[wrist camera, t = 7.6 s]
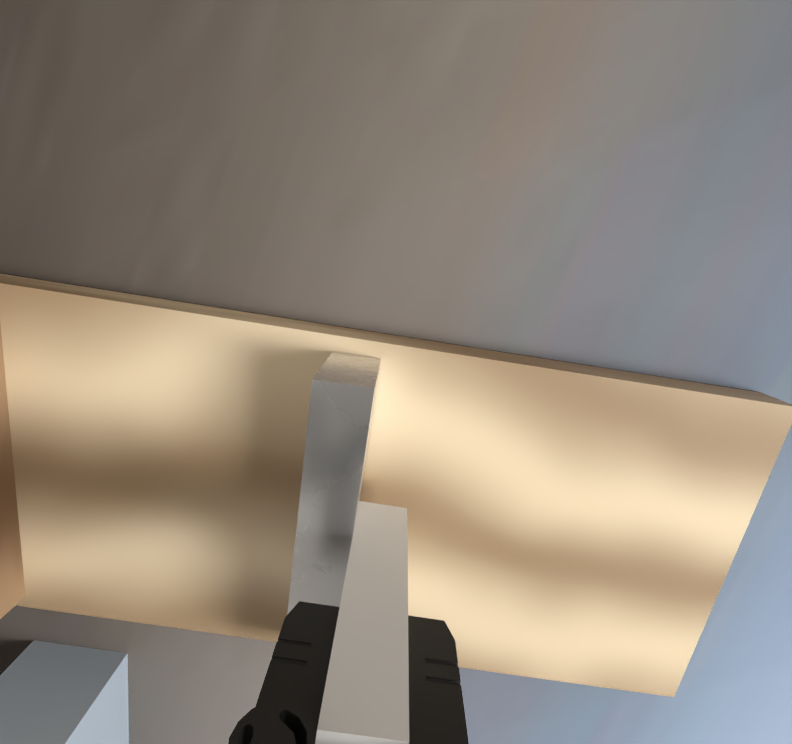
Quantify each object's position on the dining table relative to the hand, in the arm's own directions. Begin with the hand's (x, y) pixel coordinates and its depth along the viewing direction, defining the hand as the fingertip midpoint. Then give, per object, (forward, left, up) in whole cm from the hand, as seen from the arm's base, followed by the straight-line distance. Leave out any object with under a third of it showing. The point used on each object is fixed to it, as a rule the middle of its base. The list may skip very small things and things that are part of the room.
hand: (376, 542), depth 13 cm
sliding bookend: (0, +2, -1) cm, 2 cm away
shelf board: (0, +1, -3) cm, 3 cm away
